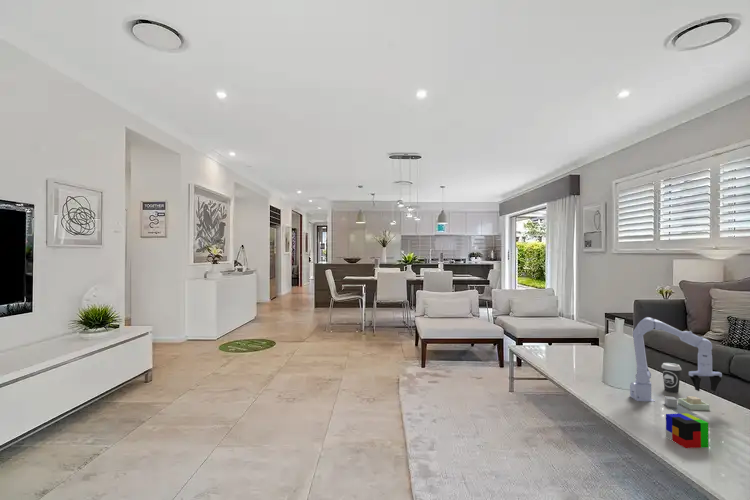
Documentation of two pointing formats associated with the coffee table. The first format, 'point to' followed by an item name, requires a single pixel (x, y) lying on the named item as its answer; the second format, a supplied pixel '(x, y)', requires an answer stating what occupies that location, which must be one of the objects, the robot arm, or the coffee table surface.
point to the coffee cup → (671, 377)
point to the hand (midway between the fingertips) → (705, 390)
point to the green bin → (693, 405)
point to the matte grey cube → (670, 401)
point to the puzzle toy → (687, 430)
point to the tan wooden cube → (693, 400)
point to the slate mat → (680, 410)
